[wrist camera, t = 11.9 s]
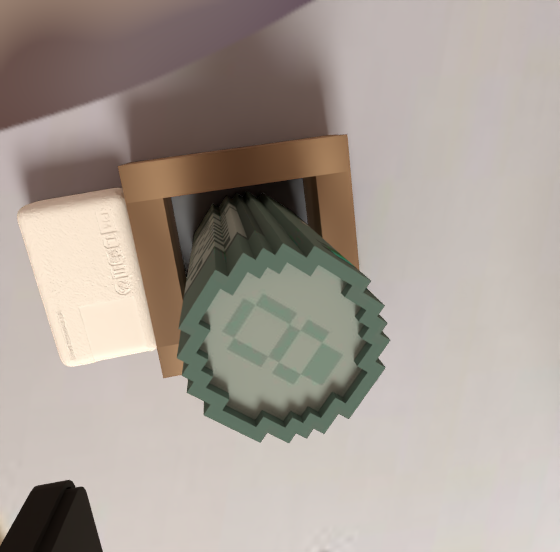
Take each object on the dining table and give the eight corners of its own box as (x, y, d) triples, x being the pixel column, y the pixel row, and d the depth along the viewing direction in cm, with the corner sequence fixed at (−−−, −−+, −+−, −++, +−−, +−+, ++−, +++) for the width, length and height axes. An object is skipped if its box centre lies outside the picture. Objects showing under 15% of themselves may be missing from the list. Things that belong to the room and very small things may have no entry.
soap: (29, 201, 27) (8, 208, 24) (130, 184, 28) (121, 189, 25) (74, 351, 30) (60, 373, 27) (166, 332, 30) (162, 353, 27)
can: (264, 313, 30) (313, 468, 16) (176, 263, 29) (143, 385, 15) (319, 228, 30) (423, 313, 15) (231, 172, 28) (253, 207, 14)
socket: (328, 135, 28) (347, 134, 24) (346, 317, 31) (365, 342, 27) (130, 162, 27) (117, 166, 23) (169, 347, 30) (163, 377, 26)
